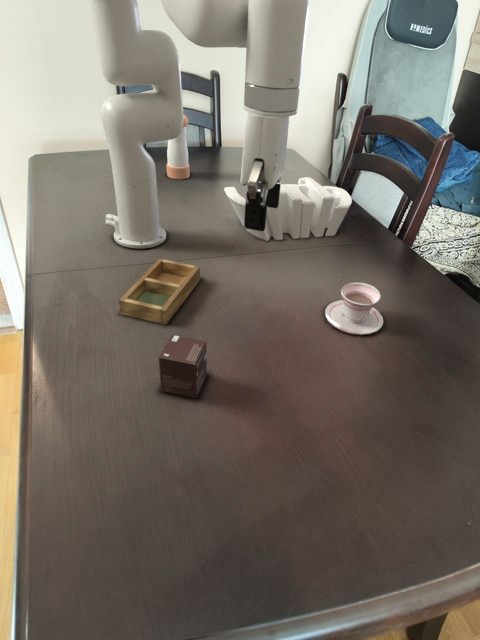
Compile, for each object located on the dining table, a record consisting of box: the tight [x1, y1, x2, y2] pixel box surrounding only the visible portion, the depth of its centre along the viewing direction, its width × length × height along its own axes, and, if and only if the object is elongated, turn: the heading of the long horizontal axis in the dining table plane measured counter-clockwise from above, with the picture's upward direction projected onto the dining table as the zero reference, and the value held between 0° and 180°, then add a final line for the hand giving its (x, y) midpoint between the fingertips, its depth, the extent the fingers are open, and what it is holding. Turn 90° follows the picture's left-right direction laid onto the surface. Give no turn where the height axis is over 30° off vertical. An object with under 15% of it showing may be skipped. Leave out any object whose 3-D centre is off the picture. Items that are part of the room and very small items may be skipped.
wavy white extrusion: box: [223, 176, 353, 242], centre depth 123 cm, size 35×16×11 cm, turn 105°
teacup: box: [324, 281, 384, 336], centre depth 92 cm, size 12×12×6 cm
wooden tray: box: [118, 257, 201, 325], centre depth 94 cm, size 9×18×3 cm, turn 165°
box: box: [158, 335, 208, 399], centre depth 73 cm, size 6×6×7 cm
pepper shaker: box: [166, 114, 191, 180], centre depth 143 cm, size 7×7×19 cm
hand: (262, 217), depth 74 cm, fingers open, 9 cm apart
